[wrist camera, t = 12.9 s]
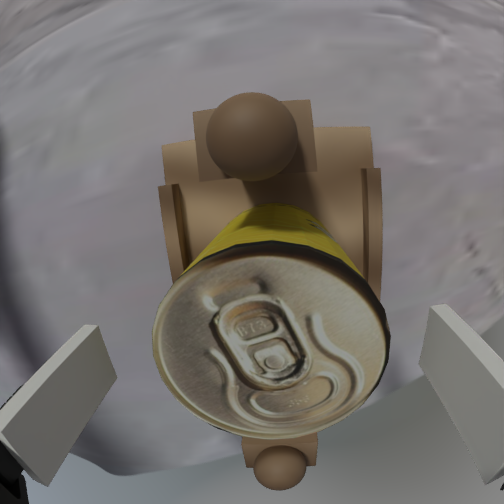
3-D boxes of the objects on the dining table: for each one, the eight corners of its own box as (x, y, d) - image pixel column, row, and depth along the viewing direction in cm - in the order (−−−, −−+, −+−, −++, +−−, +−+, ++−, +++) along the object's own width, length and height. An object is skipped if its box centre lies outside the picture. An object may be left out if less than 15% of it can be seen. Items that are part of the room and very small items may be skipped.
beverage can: (253, 336, 24) (233, 456, 12) (191, 242, 22) (109, 314, 10) (355, 285, 22) (413, 388, 10) (299, 179, 20) (327, 189, 9)
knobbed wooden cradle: (167, 146, 21) (33, 130, 8) (365, 129, 20) (478, 82, 6) (201, 362, 26) (151, 488, 13) (365, 353, 25) (411, 481, 11)
